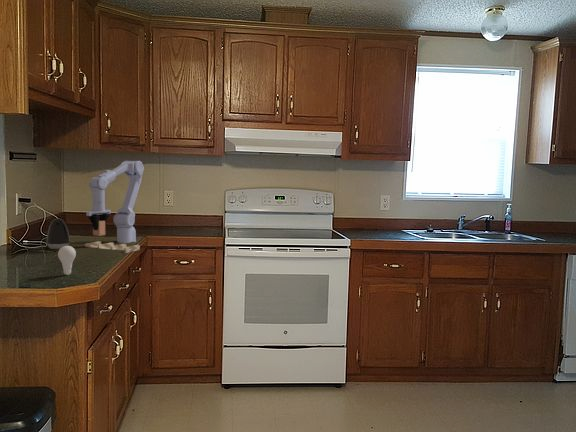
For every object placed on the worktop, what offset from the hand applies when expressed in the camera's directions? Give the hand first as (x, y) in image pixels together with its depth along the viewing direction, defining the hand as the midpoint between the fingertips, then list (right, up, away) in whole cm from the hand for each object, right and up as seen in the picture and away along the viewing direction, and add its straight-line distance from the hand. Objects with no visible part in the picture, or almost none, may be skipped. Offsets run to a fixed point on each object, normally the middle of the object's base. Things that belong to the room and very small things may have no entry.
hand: (99, 229), depth 248 cm
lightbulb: (+11, -16, -61) cm, 64 cm away
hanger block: (0, -3, 0) cm, 3 cm away
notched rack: (+7, -10, -2) cm, 12 cm away
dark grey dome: (-17, -10, -6) cm, 21 cm away
